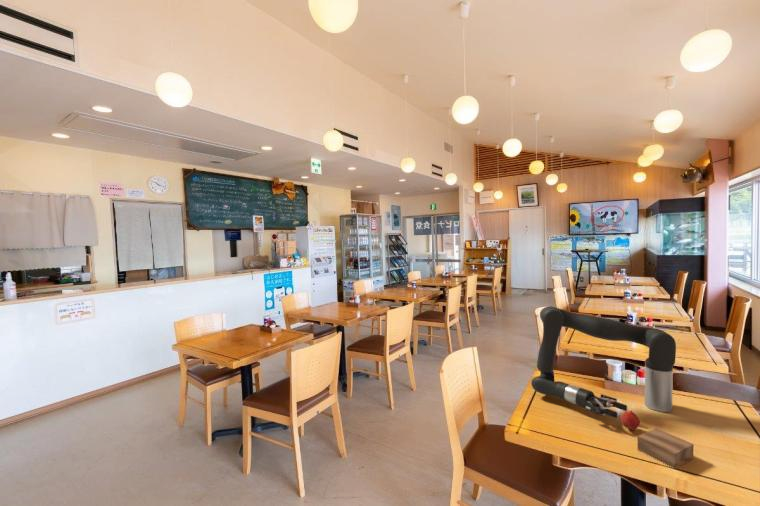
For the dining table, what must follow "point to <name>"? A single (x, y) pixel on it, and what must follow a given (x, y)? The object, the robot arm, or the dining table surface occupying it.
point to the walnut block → (665, 447)
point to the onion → (630, 420)
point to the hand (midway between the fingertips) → (621, 411)
